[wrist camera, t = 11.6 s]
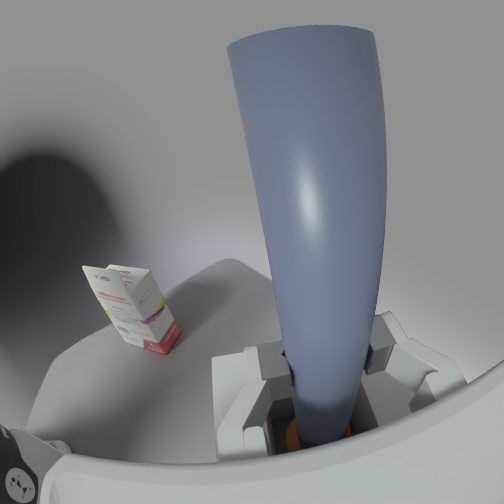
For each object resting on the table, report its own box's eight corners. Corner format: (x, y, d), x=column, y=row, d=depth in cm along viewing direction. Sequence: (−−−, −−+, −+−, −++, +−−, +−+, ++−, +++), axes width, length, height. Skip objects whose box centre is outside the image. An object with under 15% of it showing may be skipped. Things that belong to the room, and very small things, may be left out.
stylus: (303, 461, 14) (226, 32, 3) (294, 423, 17) (222, 57, 6) (349, 448, 14) (407, 32, 3) (337, 411, 16) (339, 46, 6)
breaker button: (292, 475, 15) (291, 471, 13) (282, 425, 18) (280, 416, 17) (354, 459, 15) (358, 453, 13) (338, 411, 18) (341, 401, 17)
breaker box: (262, 526, 16) (223, 530, 8) (248, 426, 26) (211, 357, 18) (387, 494, 16) (449, 465, 8) (356, 401, 26) (377, 318, 18)
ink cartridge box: (182, 331, 40) (144, 248, 32) (166, 356, 36) (119, 274, 28) (140, 320, 43) (101, 245, 35) (124, 342, 39) (77, 267, 31)
